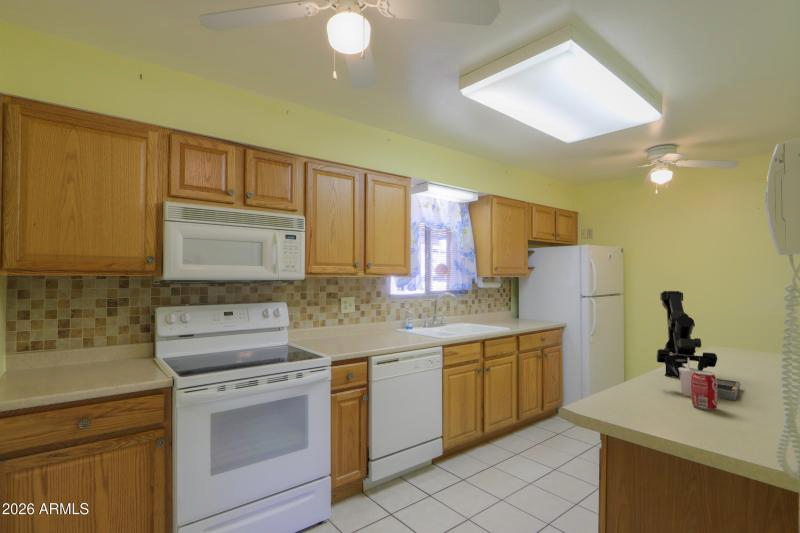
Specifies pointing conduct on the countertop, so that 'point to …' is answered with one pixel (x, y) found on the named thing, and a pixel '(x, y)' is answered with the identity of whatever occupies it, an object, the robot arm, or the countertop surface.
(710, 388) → the soda can
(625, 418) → the countertop surface
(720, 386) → the frame
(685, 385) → the white cup
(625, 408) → the countertop surface
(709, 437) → the countertop surface
